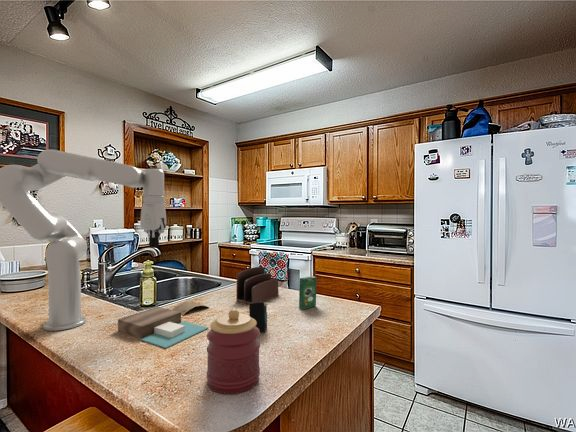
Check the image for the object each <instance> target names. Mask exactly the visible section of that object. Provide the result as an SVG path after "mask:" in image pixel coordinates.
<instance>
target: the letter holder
mask: <svg viewBox="0 0 576 432" xmlns="http://www.w3.org/2000/svg"><path fill="white" fill-rule="evenodd" d="M277 296H279V279H276V278H275V279H274V278H273V279H272V274H271V273H265V267H264V266H255V267H249V268H247V269H244V270H242V271H240V272H237V274H236V302H238V303H242V304H247V305H249V303H256V302H265V301H266V300H268V299H272V298H274V297H277Z"/></svg>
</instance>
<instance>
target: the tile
mask: <svg viewBox="0 0 576 432" xmlns="http://www.w3.org/2000/svg"><path fill="white" fill-rule="evenodd" d="M183 332H185V326H184V325H180V324H176V323H172V322H166V323H164V324H161V325H159V326H156V327H154V333H155V334H159V335H162V336H166V337H169V338H172V337H174V336H176V335H179V334H181V333H183Z"/></svg>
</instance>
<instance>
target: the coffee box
mask: <svg viewBox="0 0 576 432" xmlns="http://www.w3.org/2000/svg"><path fill="white" fill-rule="evenodd" d="M298 294H299V295H298V297H299V298H298V308H299V309H300V310H307V309H309V308H314V307H316V306H317V276H306V277H301V278H300V277H299V293H298Z"/></svg>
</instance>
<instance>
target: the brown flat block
mask: <svg viewBox="0 0 576 432" xmlns="http://www.w3.org/2000/svg"><path fill="white" fill-rule="evenodd" d="M166 322H172V323H176V324H179V323H181V322H182V315H181V312H178V311H174V310H172V309H169V308H164V307H161V306H155V307H152V308H149V309H147V310H146V309H145V310H143V311H140V312H136V313H133V314H130V315H127V316H125V317H121V318H118V319H117V331H118V332H121V333H122V334H123V333H124V334H127V335H129V336H133V337H136V338H138V339H142V338H144V337H147V336H149V335H152V334H154V327H156V326H159V325H161V324H164V323H166Z"/></svg>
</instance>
